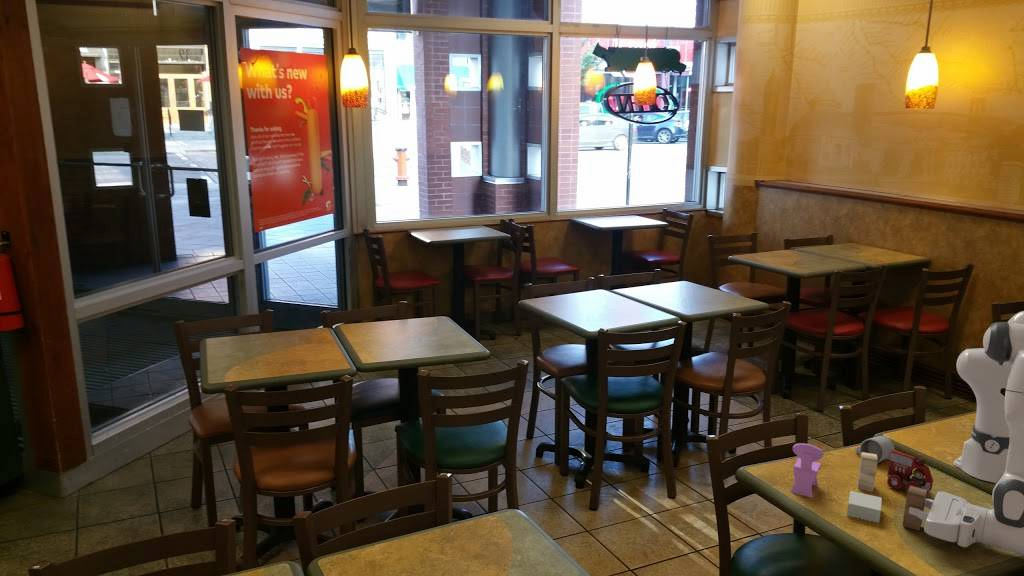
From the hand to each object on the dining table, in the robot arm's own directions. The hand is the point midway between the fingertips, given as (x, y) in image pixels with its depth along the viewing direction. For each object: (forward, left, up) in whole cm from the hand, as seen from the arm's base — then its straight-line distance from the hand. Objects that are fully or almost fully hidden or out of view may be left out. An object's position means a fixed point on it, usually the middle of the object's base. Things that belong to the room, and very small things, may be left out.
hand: (911, 505), depth 204 cm
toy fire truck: (-23, -4, -6) cm, 24 cm away
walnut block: (0, +1, -6) cm, 6 cm away
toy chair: (-4, -28, -6) cm, 29 cm away
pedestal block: (0, -11, -6) cm, 13 cm away
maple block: (-16, -14, -6) cm, 22 cm away
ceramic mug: (-38, -17, -6) cm, 43 cm away
